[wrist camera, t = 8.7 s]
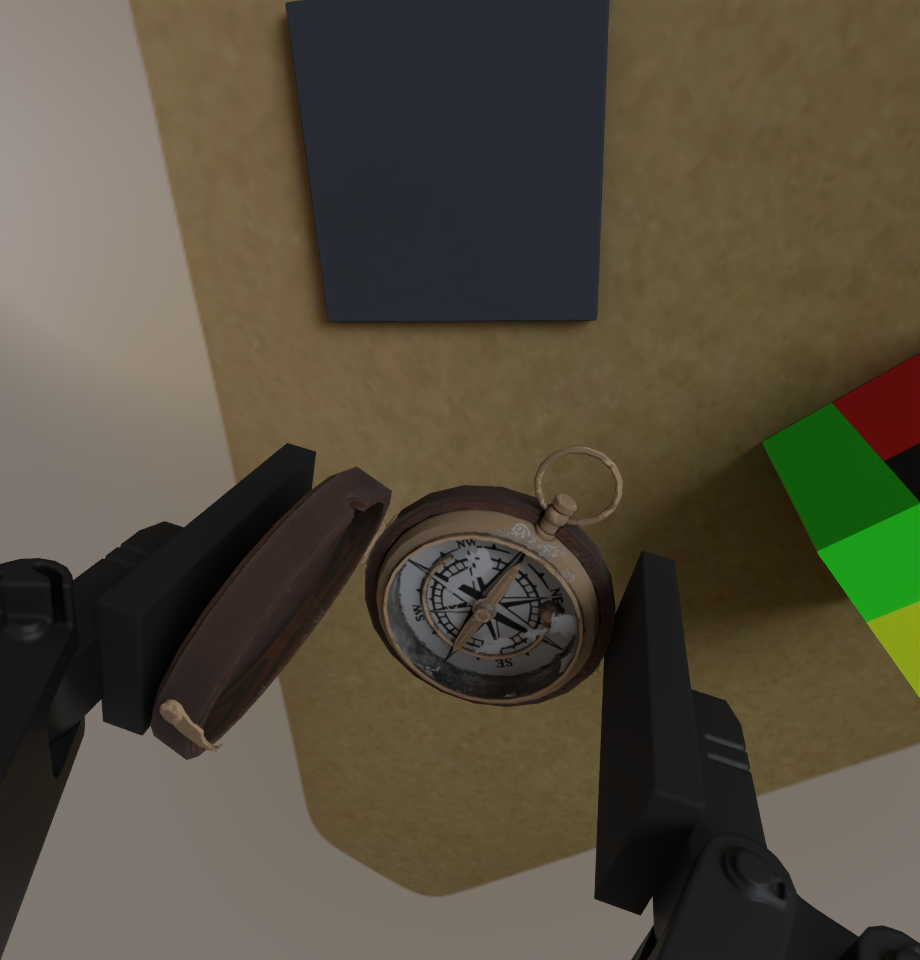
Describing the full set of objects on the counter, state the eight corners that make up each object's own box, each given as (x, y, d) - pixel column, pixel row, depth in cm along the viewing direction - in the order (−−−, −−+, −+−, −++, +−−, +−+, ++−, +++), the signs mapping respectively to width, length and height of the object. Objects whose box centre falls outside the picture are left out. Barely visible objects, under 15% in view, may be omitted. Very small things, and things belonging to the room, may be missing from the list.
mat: (610, -33, 24) (610, -40, 24) (597, 317, 30) (596, 320, 29) (293, 6, 27) (284, 2, 27) (334, 318, 33) (327, 322, 32)
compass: (534, 720, 18) (485, 1025, 12) (288, 573, 18) (99, 801, 11) (727, 513, 14) (813, 796, 8) (418, 322, 14) (243, 452, 8)
